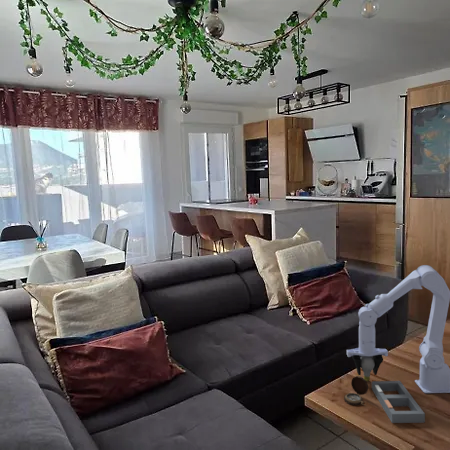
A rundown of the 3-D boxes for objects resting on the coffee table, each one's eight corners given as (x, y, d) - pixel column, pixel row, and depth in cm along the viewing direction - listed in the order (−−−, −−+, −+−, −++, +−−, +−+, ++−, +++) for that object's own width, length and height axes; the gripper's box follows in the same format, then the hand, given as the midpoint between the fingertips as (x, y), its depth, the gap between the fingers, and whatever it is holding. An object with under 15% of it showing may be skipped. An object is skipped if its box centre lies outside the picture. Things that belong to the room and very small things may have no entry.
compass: (340, 400, 133) (340, 381, 132) (353, 391, 138) (353, 372, 137) (361, 411, 127) (361, 390, 126) (374, 401, 132) (374, 381, 131)
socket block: (399, 388, 138) (400, 380, 138) (424, 422, 120) (424, 412, 119) (371, 389, 139) (371, 380, 139) (391, 422, 120) (392, 413, 120)
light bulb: (375, 385, 141) (376, 359, 140) (360, 384, 142) (360, 359, 141) (373, 377, 146) (373, 352, 145) (358, 376, 148) (358, 352, 146)
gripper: (383, 334, 146) (382, 367, 148) (344, 335, 147) (344, 368, 148) (390, 342, 139) (389, 377, 141) (349, 343, 140) (349, 378, 141)
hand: (366, 373), depth 144 cm, fingers closed on light bulb, 5 cm apart
